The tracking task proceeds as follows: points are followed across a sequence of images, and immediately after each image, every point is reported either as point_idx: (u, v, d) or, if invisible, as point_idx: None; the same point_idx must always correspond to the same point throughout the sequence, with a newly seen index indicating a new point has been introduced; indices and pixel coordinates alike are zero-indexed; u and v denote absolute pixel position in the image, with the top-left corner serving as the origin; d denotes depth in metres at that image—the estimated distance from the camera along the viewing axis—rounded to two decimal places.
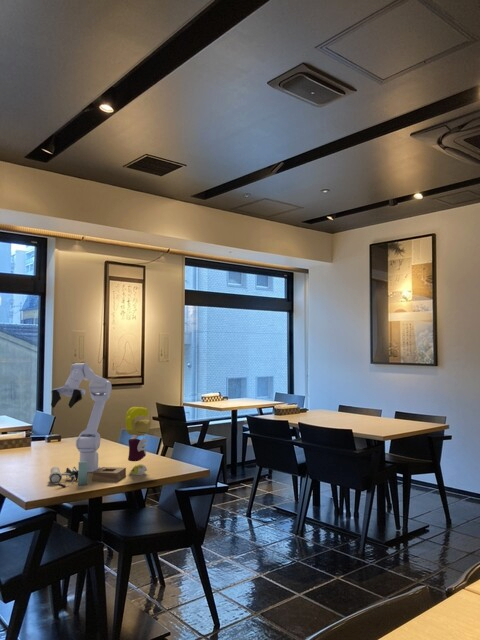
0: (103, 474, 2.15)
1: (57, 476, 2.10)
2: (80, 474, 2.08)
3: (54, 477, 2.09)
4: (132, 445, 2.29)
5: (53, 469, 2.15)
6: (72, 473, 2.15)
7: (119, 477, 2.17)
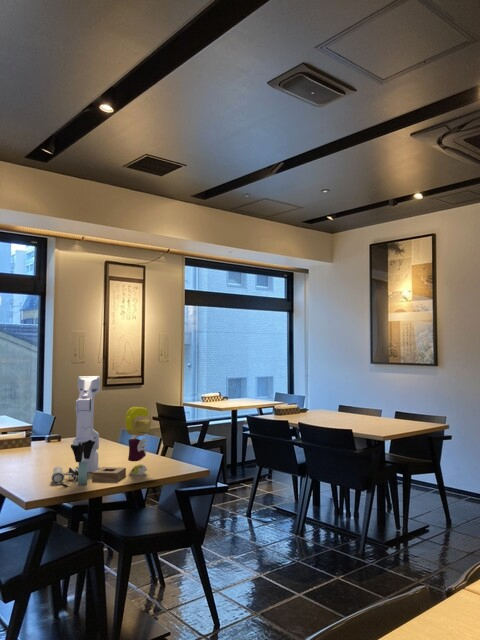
0: (103, 474, 2.15)
1: (59, 476, 2.10)
2: (80, 474, 2.08)
3: (56, 477, 2.10)
4: (132, 445, 2.29)
5: (56, 469, 2.16)
6: (74, 473, 2.15)
7: (119, 477, 2.17)
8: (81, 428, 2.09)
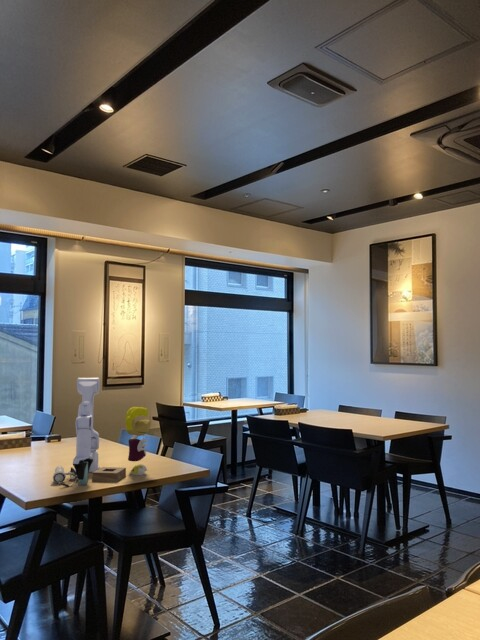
0: (103, 474, 2.15)
1: (61, 476, 2.11)
2: None
3: (58, 476, 2.10)
4: (132, 445, 2.29)
5: (57, 468, 2.16)
6: (76, 473, 2.16)
7: (119, 477, 2.17)
8: (81, 446, 2.08)
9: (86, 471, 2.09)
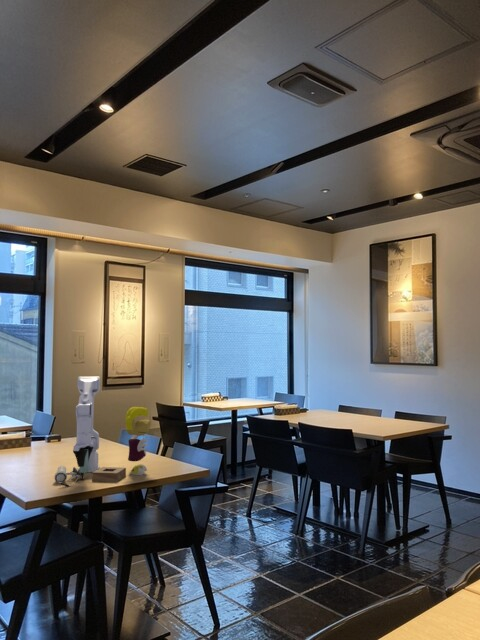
0: (103, 474, 2.15)
1: (62, 475, 2.11)
2: None
3: (59, 476, 2.10)
4: (132, 445, 2.29)
5: (59, 468, 2.17)
6: (77, 473, 2.16)
7: (119, 477, 2.17)
8: (81, 433, 2.08)
9: (87, 459, 2.10)
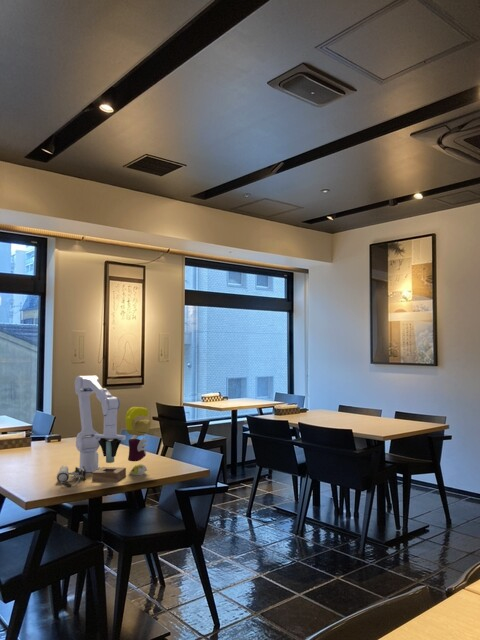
0: (103, 474, 2.15)
1: (64, 475, 2.11)
2: None
3: (61, 476, 2.11)
4: (132, 445, 2.29)
5: (61, 468, 2.17)
6: (80, 473, 2.16)
7: (119, 477, 2.17)
8: (116, 425, 2.21)
9: None
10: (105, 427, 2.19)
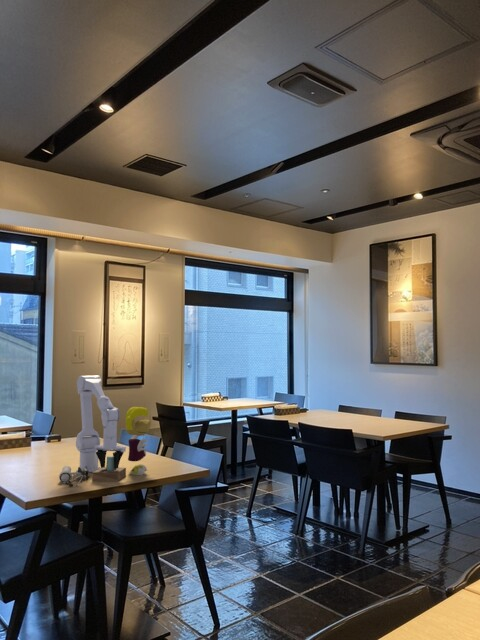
0: (103, 474, 2.15)
1: (66, 475, 2.12)
2: (113, 468, 2.20)
3: (63, 476, 2.11)
4: (132, 445, 2.29)
5: (64, 468, 2.17)
6: (82, 472, 2.16)
7: (119, 477, 2.17)
8: (116, 436, 2.21)
9: None
10: (105, 439, 2.19)
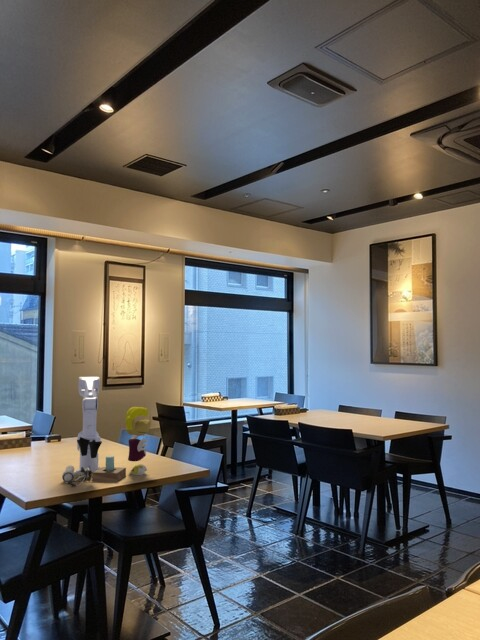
0: (103, 474, 2.15)
1: (69, 475, 2.12)
2: (113, 468, 2.20)
3: (66, 476, 2.11)
4: (132, 445, 2.29)
5: (67, 468, 2.17)
6: (85, 472, 2.16)
7: (119, 477, 2.17)
8: (94, 425, 2.19)
9: None
10: (83, 427, 2.19)
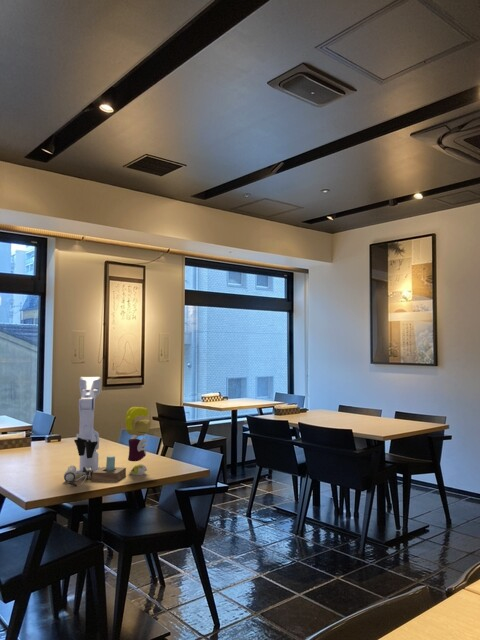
0: (103, 474, 2.15)
1: (71, 475, 2.12)
2: (113, 468, 2.20)
3: (68, 476, 2.12)
4: (132, 445, 2.29)
5: (69, 468, 2.18)
6: (87, 472, 2.17)
7: (119, 477, 2.17)
8: (90, 426, 2.19)
9: None
10: (79, 427, 2.19)
